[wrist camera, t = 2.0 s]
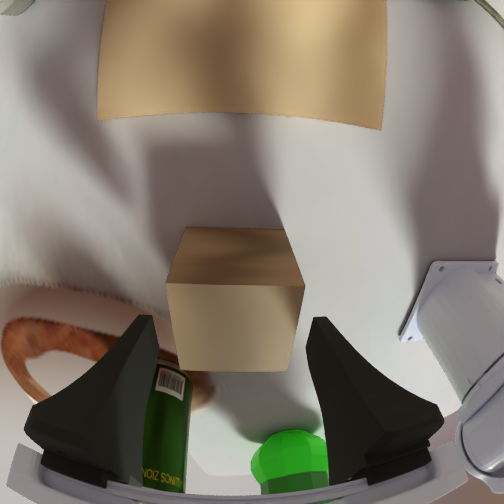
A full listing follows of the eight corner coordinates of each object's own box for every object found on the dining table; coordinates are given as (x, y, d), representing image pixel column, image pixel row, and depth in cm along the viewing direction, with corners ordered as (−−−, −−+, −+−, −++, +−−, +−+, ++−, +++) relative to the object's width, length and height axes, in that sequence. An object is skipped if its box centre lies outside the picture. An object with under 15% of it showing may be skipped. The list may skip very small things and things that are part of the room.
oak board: (374, -22, 8) (383, -29, 7) (370, 128, 13) (381, 130, 12) (123, -35, 7) (116, -43, 6) (107, 119, 12) (97, 120, 11)
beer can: (138, 348, 20) (104, 489, 9) (201, 368, 21) (194, 509, 11) (129, 380, 22) (104, 497, 12) (184, 397, 23) (175, 514, 13)
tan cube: (284, 228, 16) (305, 285, 11) (275, 305, 18) (286, 370, 14) (186, 226, 15) (165, 283, 11) (191, 303, 18) (180, 369, 13)
